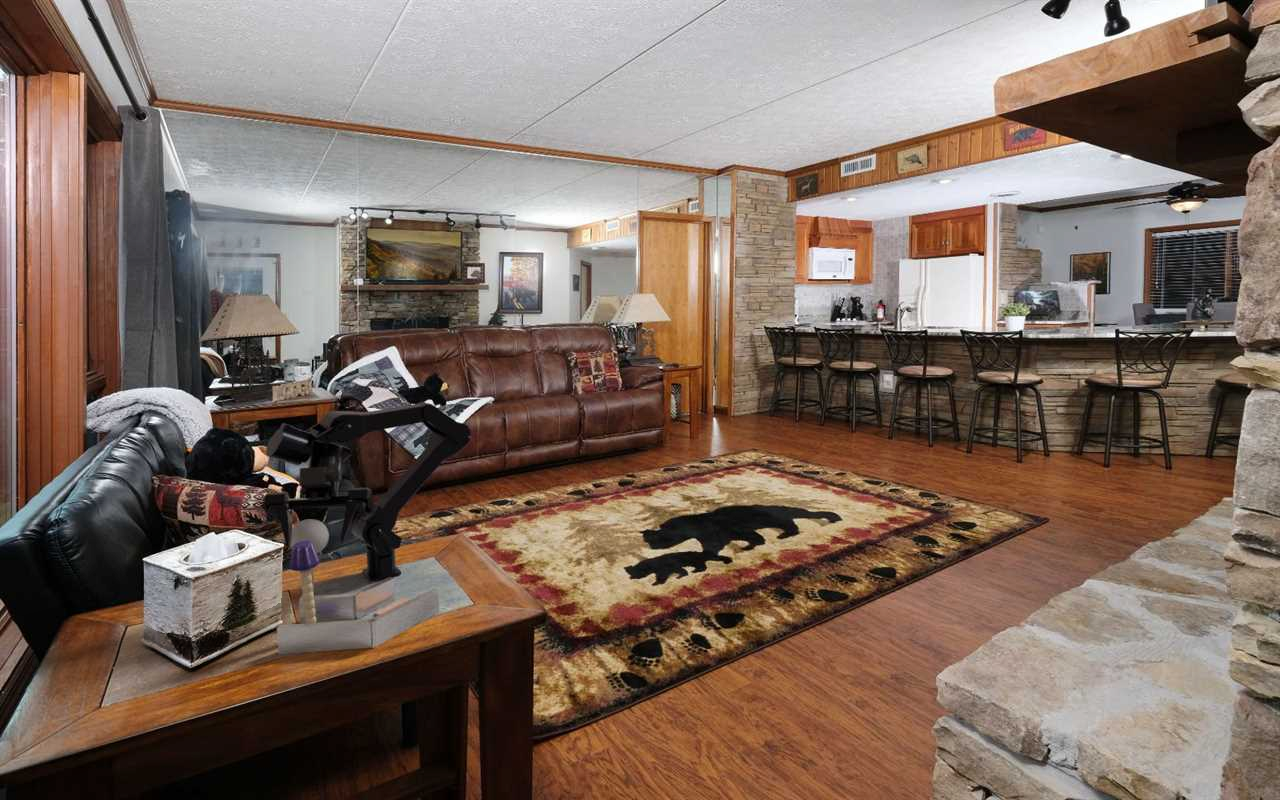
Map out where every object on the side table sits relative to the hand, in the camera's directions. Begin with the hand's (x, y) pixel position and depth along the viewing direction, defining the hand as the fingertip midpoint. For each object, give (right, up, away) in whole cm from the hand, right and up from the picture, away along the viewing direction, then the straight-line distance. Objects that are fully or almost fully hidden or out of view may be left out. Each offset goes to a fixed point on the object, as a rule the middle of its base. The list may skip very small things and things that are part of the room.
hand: (315, 544), depth 125 cm
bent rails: (+10, -14, -3) cm, 17 cm away
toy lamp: (+2, -15, -6) cm, 16 cm away
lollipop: (-6, -12, +12) cm, 18 cm away
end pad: (+15, -13, +3) cm, 20 cm away
